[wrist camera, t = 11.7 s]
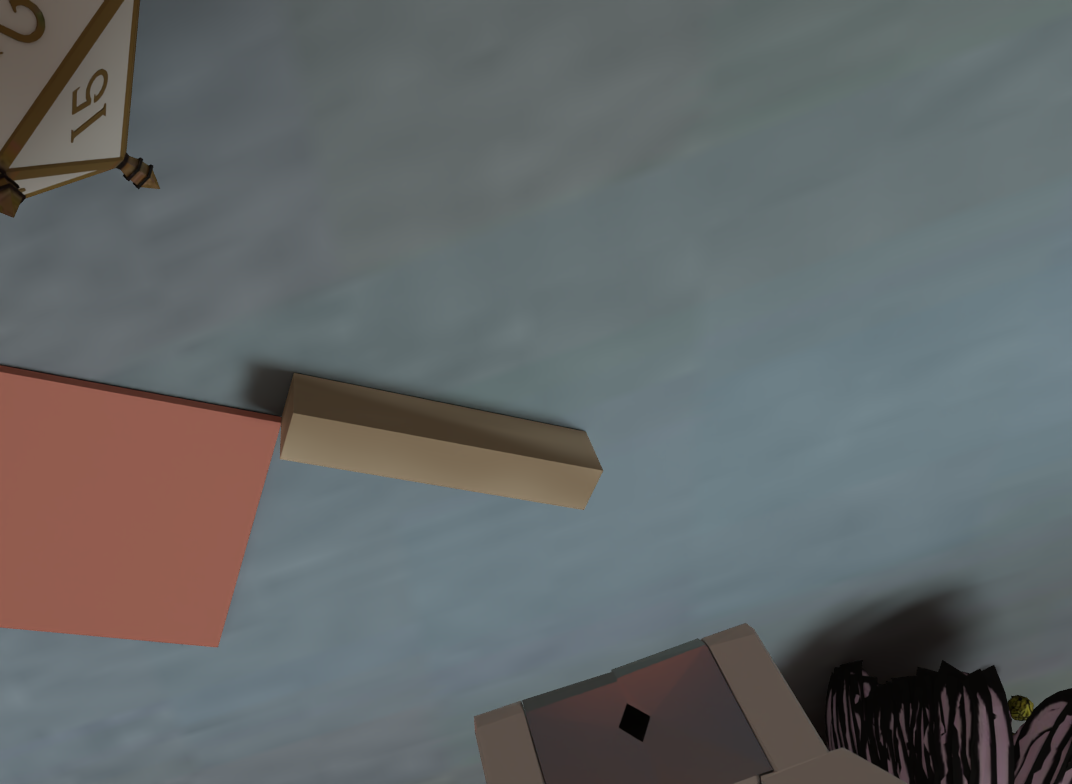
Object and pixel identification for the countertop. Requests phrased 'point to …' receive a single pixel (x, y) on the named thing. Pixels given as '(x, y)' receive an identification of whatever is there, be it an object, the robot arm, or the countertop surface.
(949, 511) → the countertop surface
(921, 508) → the countertop surface
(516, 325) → the countertop surface
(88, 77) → the game die
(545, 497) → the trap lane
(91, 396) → the mats
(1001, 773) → the decorative flower
